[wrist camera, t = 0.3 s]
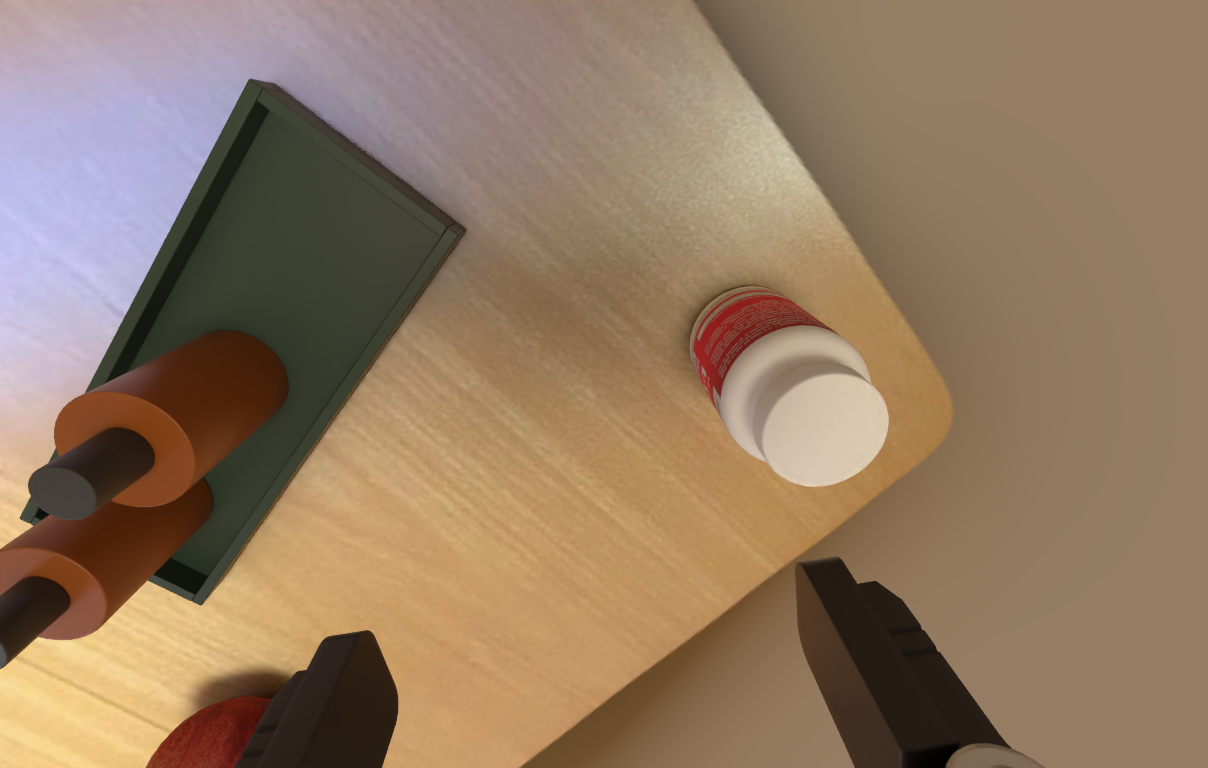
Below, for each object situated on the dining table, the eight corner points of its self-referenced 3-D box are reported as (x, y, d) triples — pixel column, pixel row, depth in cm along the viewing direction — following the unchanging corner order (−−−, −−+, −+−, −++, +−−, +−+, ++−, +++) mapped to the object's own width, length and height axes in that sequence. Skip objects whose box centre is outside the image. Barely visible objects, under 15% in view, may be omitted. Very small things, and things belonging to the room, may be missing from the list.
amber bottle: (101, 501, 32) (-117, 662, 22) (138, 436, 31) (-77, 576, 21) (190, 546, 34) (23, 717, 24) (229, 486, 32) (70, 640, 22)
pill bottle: (664, 346, 31) (706, 442, 21) (745, 259, 29) (835, 317, 19) (742, 413, 33) (818, 532, 22) (824, 334, 31) (944, 424, 21)
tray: (51, 497, 33) (18, 518, 31) (274, 83, 26) (248, 77, 24) (221, 581, 36) (200, 606, 34) (467, 229, 28) (458, 235, 26)
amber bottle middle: (167, 385, 30) (-44, 506, 20) (211, 309, 29) (8, 397, 18) (260, 439, 31) (108, 578, 21) (306, 369, 30) (167, 482, 20)
